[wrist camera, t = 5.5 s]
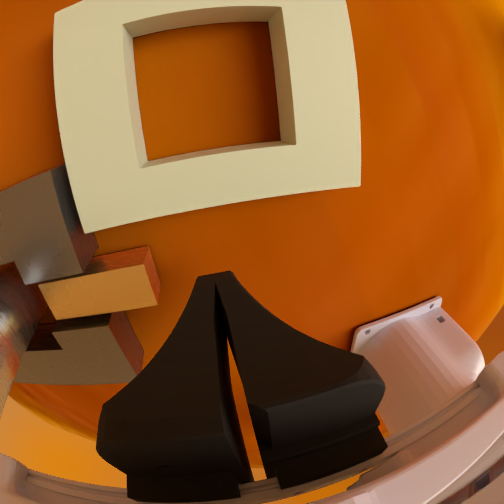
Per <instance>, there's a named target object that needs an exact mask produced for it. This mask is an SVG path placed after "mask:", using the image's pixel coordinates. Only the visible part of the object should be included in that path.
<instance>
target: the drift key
mask: <svg viewBox="0 0 504 504" xmlns="http://www.w3.org/2000/svg"><path fill="white" fill-rule="evenodd" d="M160 284H161V283H160V280H159V277H158V274H157V271H156V268H155V264H154V261H153V258H152V254H151V251H150V247H149V246H145V247H140V248H135V249H130V250H125V251H121V252H116V253H111V254H106V255H102V256H97V257H92V259H91V260H90V262H89V264H88V265H87V267H86V269H85V271H84V272H83V273H80V274H75V275H70V276H66V277H61V278H56V279H51V280H46V281H41V282H40V283H39V284H38V286H39V288H40V290H41V292H42V294H43V296H44V298H45V300H46V302H47V304H48V306H49V308H50V310H51V311H52V313H53V315H54V317H55V318H56V320H60V319H67V318H75V317H83V316H90V315H97V314H104V313H111V312H117V311H124V310H130V309H137V308H143V307H149V306H155V305H158V300H159V292H160Z"/></svg>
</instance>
